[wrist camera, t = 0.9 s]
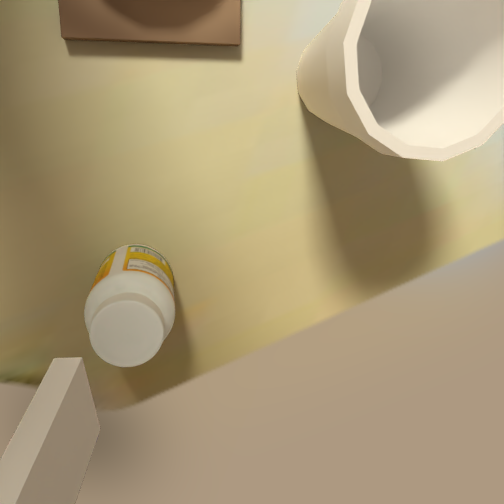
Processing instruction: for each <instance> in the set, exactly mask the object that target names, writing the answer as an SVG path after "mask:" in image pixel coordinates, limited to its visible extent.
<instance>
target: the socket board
mask: <svg viewBox="0 0 504 504" xmlns="http://www.w3.org/2000/svg"><path fill="white" fill-rule="evenodd" d="M58 3H59V14H60V25H61V37H62V38H63V39H69V40H94V41H120V42H145V43H170V44H196V45H221V46H238V45H240V0H58Z"/></svg>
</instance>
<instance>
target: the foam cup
mask: <svg viewBox="0 0 504 504" xmlns="http://www.w3.org/2000/svg"><path fill="white" fill-rule="evenodd" d="M296 75H297V86H298V94H299V95H300V97H301V99H302V101H303V102H304V104H305V106H306V108H307V109H308V111H310V112H311V113H313V114H314V115H316V116H317V117H319V118H320V119H322V120H323V121H325V122H326V123H328V124H330V125H332V126H334V127H336V128H338V129H340V130H342V131H345V132H347V133H349V134H351V135H353V136H355V137H357V138H358V139H360V140H361V141H363V142H364V143H366V144H367V145H369V146H370V147H372V148H373V149H375V150H376V151H378V152H379V153H381V154H384V155H390V156H396V157H401V158H411V159H423V160H435V161H445V160H447V159H450V158H452V157H455V156H457V155H459V154H462V153H464V152H467V151H469V150H472V149H474V148H476V147H479V146H481V145H483V144H484V143H485V142H486V141H487V140H488V139H489V138H490V136H491V135H492V134H493V133H494V132H495V131H496V130H497V129H498V128H499V127H500V126H501V125H502V124H503V123H504V0H344V1H343V2H342V3H341V4H340V7H339V10H338V13H337V14H336V15H335V16H334V17H333V18H332V19H331V21H330V22H329V23H328V24H327V25H326V26H325V27H324V28H323V29H322V30H321V31H320V33H319V34H318V35H317V36H316V37H315V38H314V39H313V40H312V41H311V42H310V44H309V45H308V46H307V47H306V48H305V49H304V50H303V52H302V55H301V58H300V62H299V65H298V68H297V71H296Z"/></svg>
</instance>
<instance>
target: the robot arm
mask: <svg viewBox="0 0 504 504" xmlns="http://www.w3.org/2000/svg"><path fill="white" fill-rule="evenodd" d="M100 429H101V428H100V424H99V420H98V416H97V412H96V408H95V404H94V401H93V397H92V393H91V389H90V385H89V382H88V378H87V374H86V370H85V366H84V362H83V359H82V357H74V358H54V359H53V361H52V363H51V365H50V367H49V369H48V370H47V372H46V374H45V376H44V378H43V380H42V382H41V384H40V385H39V387H38V389H37V391H36V393H35V395H34V397H33V399H32V401H31V403H30V404H29V406H28V408H27V410H26V412H25V414H24V416H23V418H22V419H21V421H20V423H19V425H18V427H17V429H16V431H15V432H14V434H13V436H12V438H11V440H10V442H9V444H8V446H7V447H6V450H5V452H4V453H3V455H2V457H1V459H0V504H75V503H76V500H77V497H78V494H79V491H80V488H81V485H82V482H83V479H84V476H85V473H86V470H87V467H88V464H89V462H90V459H91V456H92V453H93V450H94V447H95V444H96V441H97V438H98V435H99V432H100Z"/></svg>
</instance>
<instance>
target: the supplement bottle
mask: <svg viewBox="0 0 504 504" xmlns="http://www.w3.org/2000/svg"><path fill="white" fill-rule="evenodd" d="M84 319H85V324H86V327H87V330H88V332H89V338H90V342H91V345H92V348H93V350H94V351H95V352H96V354H97V355H98V356H99V357H100V358H101V359H102V360H104V361H105V362H107V363H109V364H111V365H114V366H119V367H134V366H138V365H141V364H143V363H145V362H147V361H148V360H150V359H151V358H152V357H154V355H155V354H156V353H157V352H158V351H159V349H160V347H161V345H162V343H163V341H164V340H165V338H166V337H167V336H168V334H169V333H170V331H171V329H172V327H173V324H174V320H175V298H174V284H173V273H172V269H171V267H170V265H169V263H168V261H167V260H166V258H165V257H164V256H163V255H162V254H161V253H160V252H158V251H157V250H155V249H154V248H151V247H149V246H146V245H141V244H130V245H125V246H122V247H119V248H117V249H116V250H114V251H112V252H111V253H110V254H109V255H108V256H107V257H106V258H105V259H104V261H103V263H102V264H101V266H100V268H99V271H98V273H97V276H96V278H95V281H94V283H93V286H92V288H91V290H90V293H89V295H88V298H87V301H86V304H85V309H84Z"/></svg>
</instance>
